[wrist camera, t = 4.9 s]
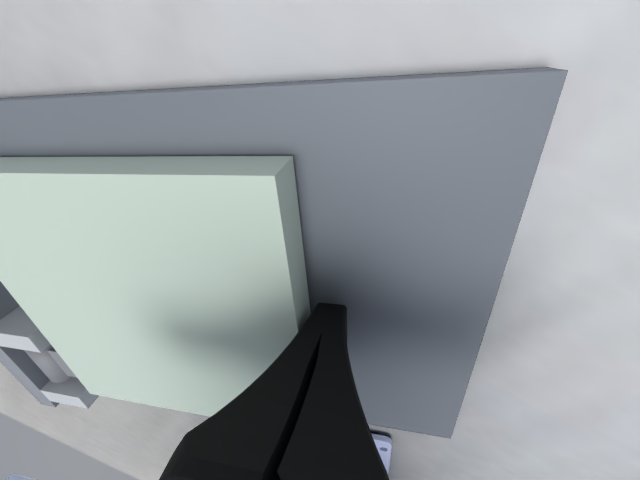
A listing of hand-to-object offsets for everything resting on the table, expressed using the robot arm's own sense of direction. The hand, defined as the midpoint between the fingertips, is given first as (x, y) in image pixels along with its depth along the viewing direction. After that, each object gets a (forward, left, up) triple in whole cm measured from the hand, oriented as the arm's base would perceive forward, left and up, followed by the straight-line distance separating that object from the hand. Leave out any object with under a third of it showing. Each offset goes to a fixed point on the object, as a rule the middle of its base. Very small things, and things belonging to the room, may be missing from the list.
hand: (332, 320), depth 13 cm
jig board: (0, +7, -2) cm, 7 cm away
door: (0, +10, 0) cm, 10 cm away
